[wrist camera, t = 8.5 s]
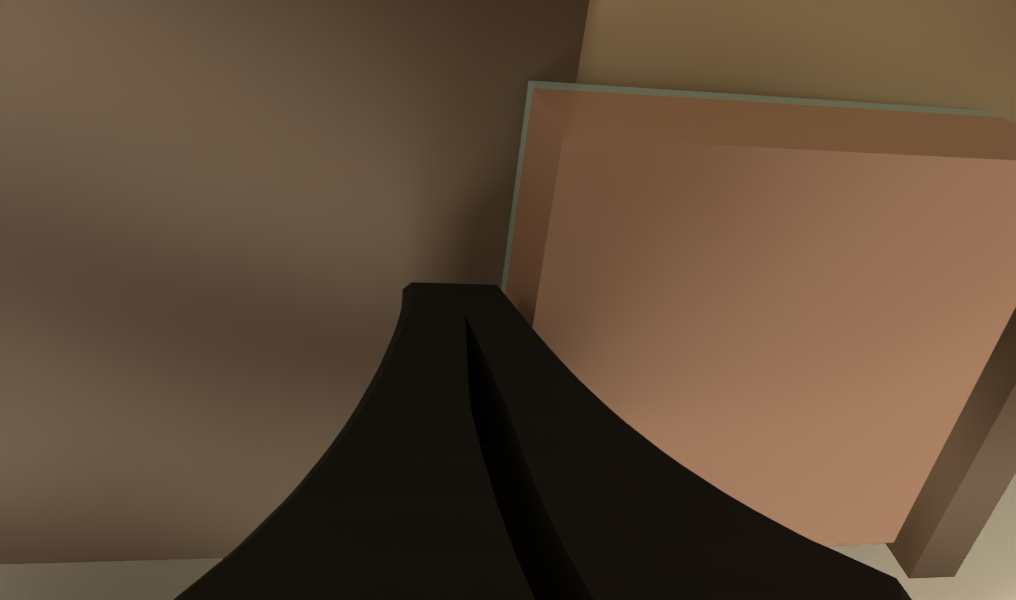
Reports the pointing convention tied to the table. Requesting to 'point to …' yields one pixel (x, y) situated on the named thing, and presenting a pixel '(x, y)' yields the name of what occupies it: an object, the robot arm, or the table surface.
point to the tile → (770, 283)
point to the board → (350, 225)
